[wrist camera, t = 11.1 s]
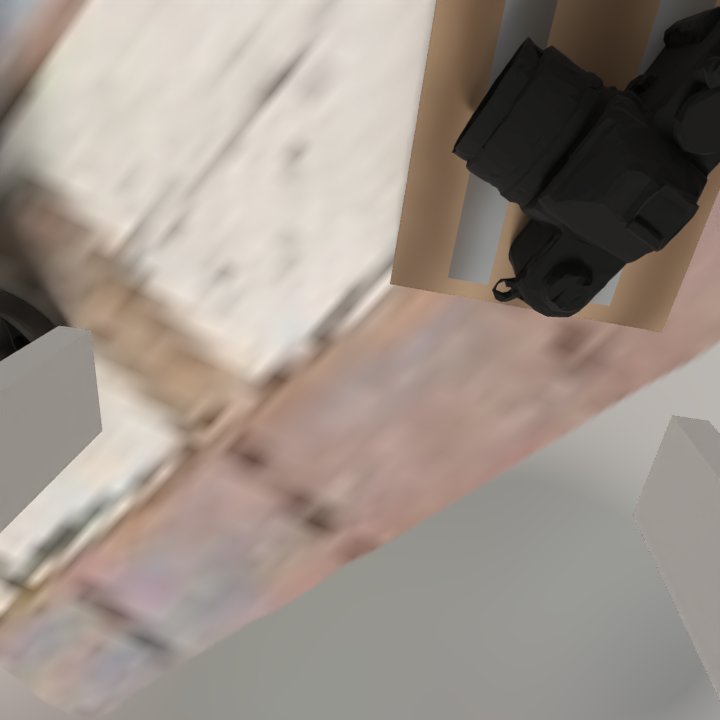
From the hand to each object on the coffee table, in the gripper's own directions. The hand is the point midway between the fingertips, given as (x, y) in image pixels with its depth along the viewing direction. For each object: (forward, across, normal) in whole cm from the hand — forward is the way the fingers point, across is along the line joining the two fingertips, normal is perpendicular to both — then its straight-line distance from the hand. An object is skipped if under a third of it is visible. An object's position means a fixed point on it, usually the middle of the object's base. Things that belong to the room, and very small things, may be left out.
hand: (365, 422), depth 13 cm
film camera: (+22, +8, +6) cm, 23 cm away
